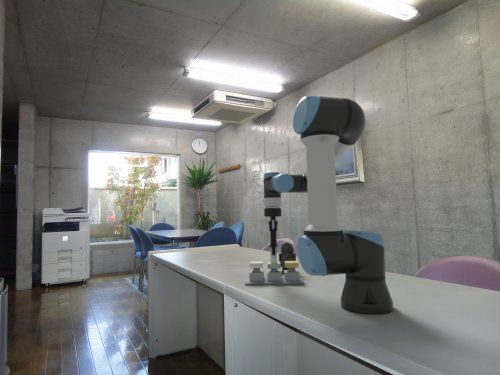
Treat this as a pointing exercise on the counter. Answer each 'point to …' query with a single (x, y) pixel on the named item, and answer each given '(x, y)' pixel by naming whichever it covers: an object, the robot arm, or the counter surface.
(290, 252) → the toy
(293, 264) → the button ochre
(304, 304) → the counter surface
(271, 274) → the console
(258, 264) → the button white
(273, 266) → the button green
